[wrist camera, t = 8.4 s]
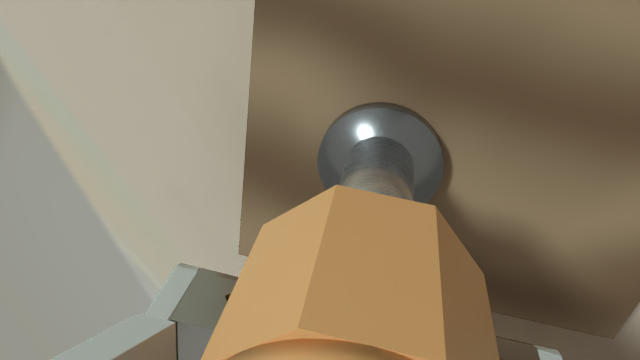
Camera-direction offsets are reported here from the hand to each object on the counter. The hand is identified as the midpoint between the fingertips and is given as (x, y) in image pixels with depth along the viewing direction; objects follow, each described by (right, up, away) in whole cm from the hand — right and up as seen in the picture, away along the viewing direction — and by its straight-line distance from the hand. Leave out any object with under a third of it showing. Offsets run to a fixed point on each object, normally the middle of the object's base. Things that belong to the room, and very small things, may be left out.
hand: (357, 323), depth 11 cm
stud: (+1, +4, +6) cm, 8 cm away
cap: (0, +1, +1) cm, 1 cm away
